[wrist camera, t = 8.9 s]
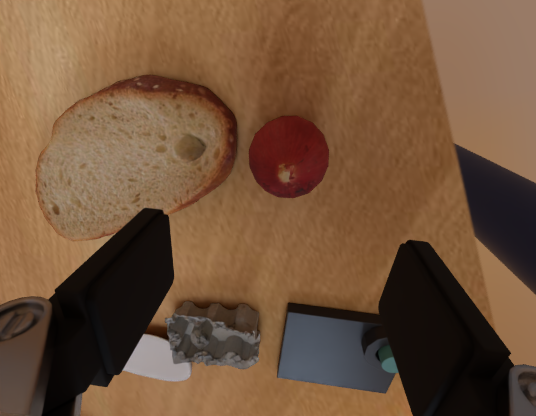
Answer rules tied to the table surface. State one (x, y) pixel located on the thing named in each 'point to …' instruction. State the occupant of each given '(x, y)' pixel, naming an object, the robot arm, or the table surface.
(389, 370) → the button
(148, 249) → the robot arm
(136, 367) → the white plastic spork
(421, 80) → the table surface
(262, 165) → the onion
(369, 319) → the scale
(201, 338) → the egg carton
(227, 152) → the bread slice
